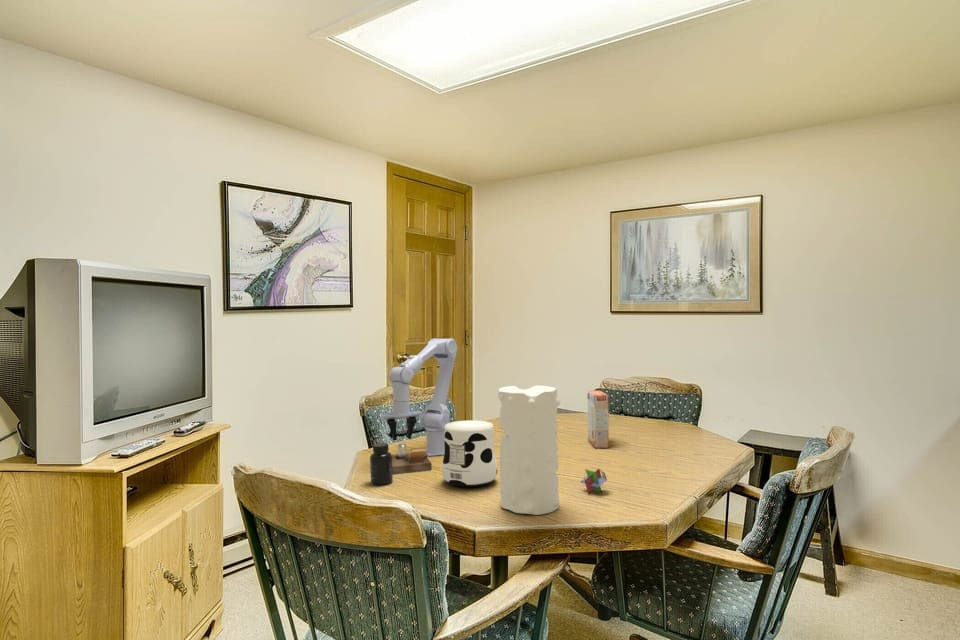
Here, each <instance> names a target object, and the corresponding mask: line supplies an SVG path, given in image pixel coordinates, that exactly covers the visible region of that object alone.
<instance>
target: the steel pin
mask: <svg viewBox="0 0 960 640" xmlns="http://www.w3.org/2000/svg"><path fill="white" fill-rule="evenodd" d="M406 453H407V444H406V443H398V444H397V454H398V459H405V457H406Z"/></svg>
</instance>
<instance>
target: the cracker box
mask: <svg viewBox="0 0 960 640" xmlns="http://www.w3.org/2000/svg"><path fill="white" fill-rule="evenodd" d="M586 395H587V441H588V442H589V443H590V444H591V446H593V448H594V449H609V448H610V445H609V443H610V441H609V439H610V438H609V436H610V435H609V433H610V431H609V427H610V426H609V425H610V424H609V420H610V419H609V394H607V393H606V392H603V390H587V394H586Z"/></svg>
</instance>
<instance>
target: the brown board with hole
mask: <svg viewBox="0 0 960 640" xmlns="http://www.w3.org/2000/svg"><path fill="white" fill-rule="evenodd" d="M410 453H411V452H406V457H405V459H398V453H396V454H391V455H392V473H393V475H398V474H409V473H417V472H416V471H419V472H426V471H425V470H428V471H432V470H433V468H432V465H433V464H432V461H431V460H429V458H428V455H427V454H425V456H424V459H417V460H409V456H410Z"/></svg>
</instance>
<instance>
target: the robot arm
mask: <svg viewBox="0 0 960 640" xmlns="http://www.w3.org/2000/svg"><path fill="white" fill-rule="evenodd" d="M457 352H458V344H457V342H456V341H455V339H454V338H452V337H451V338H436V337H435V338H434V337H433V338H431V339H430V340H429V341H428V342H427V345H425V347H424V348H423V349H422V350H421V351H420V352H419V353H418V354H417V355H415V354H413V355H412V354H411V355H409V356H408V357H407V358H408V359H406V360H405V361H403V362H401V363H400V365H399V366H395V367H393V368H392V369H391V370H390V372H389V375H388V379H389V381H390V382H391V387H392V405H393V406H392V409H393V410H392V411H393V412H391V413H385V414H380V421H382V422H386V423H387V425H388V427H389V430H390V433H391V436H392V440H393V441H394V442H396V441H397V438H398V437H397V422H398V421H396V420H404V419H406V420H405V421H406V436H407V437H406V438H407V439H408V440H411V439H412V435H413V431H414V428H415V426H416V423H417V420H418V418H421V425H422V426H423V428H424V431H425V432H426V434H425V435H426V439H425V440H426V453H425V455H427V457H432V456H433V457H435V456H444V453H445V445H444V438H445V435H444V431H445V425H446V424H448V423H451V422H450V421H451V420H450V414H451V411H450V410H449V408H448V407H447V406H446V404H447V400H448V394H449V390H450V385H451V380H452V377H453V371H454V366H455V362H456V361H455V360H456V357H457ZM431 357H433V358H434V359H435V360H436V361H437V362H438V363H439V366H438V367H439V368H438V371H437V376H436V381H435V387H434V391H433V395H432V399H431V400H432V401H431V403H430V404H428V405H426V407H425V409H424V412H422V411H420V410H419V411H410V383H411V382H412V380H413V379H414V378H413V377H414V376H415V374H416V373H417V372H419V371H420V370H421V369H422V368H423V366H424V365H423V364H424V363H425V362H426V361H427V360H429V359H430V358H431Z"/></svg>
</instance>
